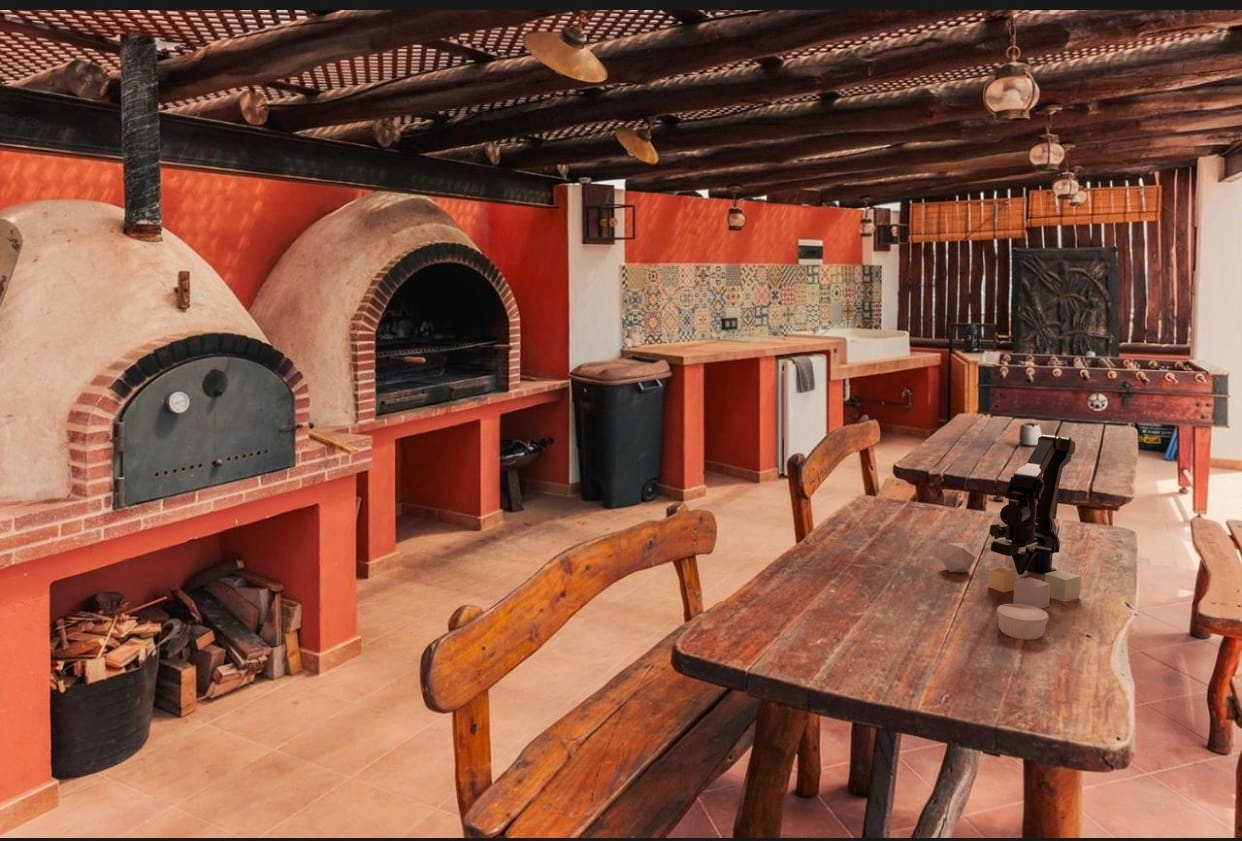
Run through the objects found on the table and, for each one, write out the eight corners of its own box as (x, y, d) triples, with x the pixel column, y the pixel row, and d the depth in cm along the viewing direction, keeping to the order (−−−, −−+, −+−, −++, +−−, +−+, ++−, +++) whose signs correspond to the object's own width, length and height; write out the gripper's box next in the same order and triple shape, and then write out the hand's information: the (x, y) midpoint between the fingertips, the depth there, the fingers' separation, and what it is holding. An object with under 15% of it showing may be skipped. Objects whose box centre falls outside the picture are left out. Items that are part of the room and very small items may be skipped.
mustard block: (1000, 584, 247) (1001, 566, 247) (1016, 589, 243) (1017, 571, 242) (987, 587, 245) (989, 569, 244) (1003, 592, 241) (1004, 574, 240)
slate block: (1028, 599, 236) (1030, 577, 235) (1049, 606, 231) (1050, 583, 230) (1013, 603, 233) (1014, 580, 232) (1033, 610, 228) (1035, 587, 227)
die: (969, 580, 253) (984, 550, 254) (941, 563, 253) (957, 534, 255) (958, 581, 261) (973, 552, 262) (931, 565, 261) (946, 536, 263)
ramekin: (1033, 623, 219) (1034, 602, 219) (1056, 641, 208) (1058, 620, 208) (987, 624, 219) (988, 603, 218) (1008, 642, 208) (1010, 620, 207)
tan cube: (1058, 591, 242) (1060, 569, 241) (1079, 598, 236) (1080, 576, 235) (1043, 595, 239) (1045, 573, 238) (1064, 602, 233) (1065, 580, 233)
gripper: (1021, 508, 256) (1017, 561, 258) (975, 516, 247) (972, 571, 249) (1056, 517, 246) (1052, 572, 249) (1010, 526, 237) (1006, 583, 240)
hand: (1020, 574), depth 247 cm, fingers closed
